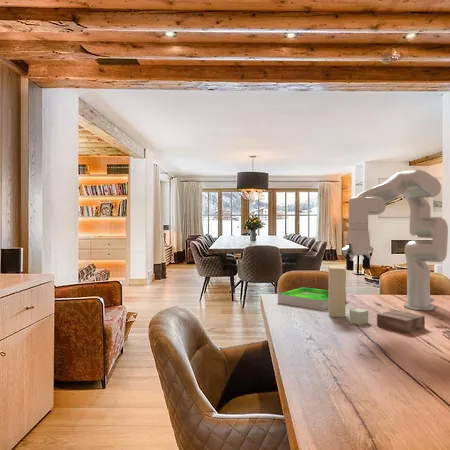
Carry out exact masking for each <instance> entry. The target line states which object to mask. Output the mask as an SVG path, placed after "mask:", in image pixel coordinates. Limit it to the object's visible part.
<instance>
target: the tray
mask: <svg viewBox="0 0 450 450" xmlns="http://www.w3.org/2000/svg"><path fill="white" fill-rule="evenodd" d="M346 302H347V294H346V295H345V303H346ZM277 303H278V304H282V303H283V304H282V305H288V304H289V306H296V307H302V308H307V309H314V310H318V311H319V310H320V311H326V310H327V309H328V289H319V288H313V287H312V288H311V287H304V286H302V287H298V288H293V289H291V290H288V291H284V292H280V293H277Z"/></svg>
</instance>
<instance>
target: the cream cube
mask: <svg viewBox="0 0 450 450" xmlns="http://www.w3.org/2000/svg"><path fill="white" fill-rule="evenodd" d="M349 323H353V324H355V325H364V324H369V310H367V309H362V308H352V309H349Z"/></svg>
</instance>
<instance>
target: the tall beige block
mask: <svg viewBox="0 0 450 450" xmlns="http://www.w3.org/2000/svg"><path fill="white" fill-rule="evenodd" d="M327 274H328V278H327V279H328V289H327V290H328V310H327V311H328V315H329V317H331V318H332V317H333V318H346V302H345V295H346V296H347V291H346V290H347V289H346V282H347V281H346V277H347V274H346V266H343V265H341V266H340V265H329V266H328V273H327Z"/></svg>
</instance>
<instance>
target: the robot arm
mask: <svg viewBox="0 0 450 450" xmlns="http://www.w3.org/2000/svg"><path fill="white" fill-rule="evenodd" d="M441 191H442V185H441V182H440V181H439V179H438V178H436V176H433V175H432V174H430V173H428V172H426V171H425V170H422V169H412V170H402V171H398V172H396V173H394V174H393V175H392V176H391V177H389V178H388V179H387V180H385V181H384V182H383V183H381V184H378V185H376V186H374V187H370V188H369V189H366V190H363V192H361V193H359V194H357V195H356V196H352V197H349V198H348V230H347V231H346V235H345V236H346V237H345V242H344V243H345V244H344V245H345V246H344V247H343V248H342V250H341V251H342V254H343V257H344V259H345V264H346V265H345V269H346V270H347V271H352V272H354V267H355V266H354V265H355V264H354V258H355V257H358V256H362V269H364V270H370V269H371V259H372V256H373V252H374V248H373V246H371V239H370V233H369V216H378V215H379V216H380V215H381V214H382V213H383V212H385V211H386V208H387V207H386V206H387V205H386V203H388V202H392V201H395V200H396V199H397V198H398V197H400V196H401V195H402V196H403V197H404V198H405V200H406V201H407V203H408V205H409V211H410V213H409V234H410V236H412V237H414V238H418V240H411V241H408V242H407V243H406V244H405V246H404V254H405V260H406V283H407V284H406V293H407V295H406V297H407V298H406V301H407V302H404V303H403V307H404V308H406V309H409V310H415V311H432V310H434V309H435V306H434V305H432V304H431V303H432V302H435V298H433V297H431V271H430V267H429V265H428V264H427V263H426V262H429V263H442V262H444V261H445V260H446V258H447V255H448V238H449V236H448V235H449V226H448V223H447V221H446V220H445V219H444V218H443V217H436V216H435V217H431V210H432V209H431V205H430V203H429V201H427V199H426V198H434V197H437V196H439V195H440V193H441ZM419 238H420V239H421V238H422V239H432V240H419Z"/></svg>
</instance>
